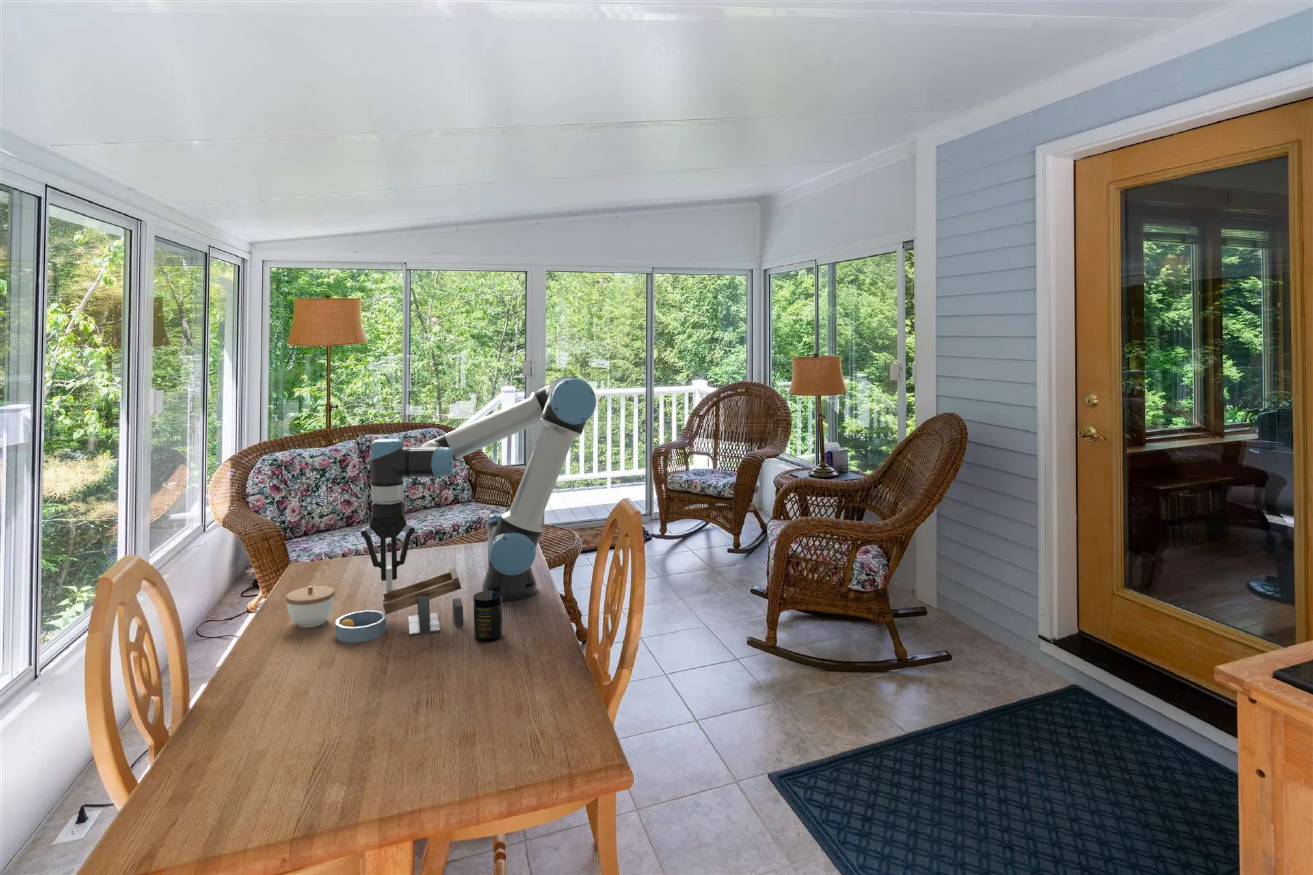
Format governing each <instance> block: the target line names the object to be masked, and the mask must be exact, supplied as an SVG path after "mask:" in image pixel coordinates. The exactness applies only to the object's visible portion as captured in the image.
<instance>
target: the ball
mask: <svg viewBox="0 0 1313 875" xmlns="http://www.w3.org/2000/svg"><path fill="white" fill-rule="evenodd" d="M340 625H342V626H345V627H354V622H353V621H352V620H351V619H345V620H343V621H342V622H341V624H340Z"/></svg>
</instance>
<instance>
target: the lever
mask: <svg viewBox="0 0 1313 875" xmlns="http://www.w3.org/2000/svg"><path fill="white" fill-rule="evenodd" d="M459 590H462V585H461V581H460V579H459V576H458V573H457V569H456V568H451V569H449V571H447V572H444V573H440V574H438V575H435V576H432V577H429V578H426V579H422V580H420V581H417V582H413V583H411V584H408V585H407V584H406V585H405V586H399V587H397V588H394V589H392V591H390V592H387V593H386V591H385V592H382V602H383V603H382V607H383V610H384V613H385V614H386V615H388V614H391V613H395V612H398V611H400V610H404V609H407V608H410V607H412V606H416V605H418V603H419V596H420V595H429V601H430V600H433V599H435V598H438V597H440V596H444V595H446V594H450V593H452V592H455V591H459Z"/></svg>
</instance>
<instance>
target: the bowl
mask: <svg viewBox="0 0 1313 875" xmlns="http://www.w3.org/2000/svg"><path fill="white" fill-rule="evenodd" d="M345 619H351V620H352V621H353V622H354V627H345V626H342V625H340V624H341V622H342V621H343V620H345ZM334 626H335V639H336V640H338V641H340V642H341V643H349V644H350V643H352V644H354V643H356V644H357V643H362V642H363V643H364V642H368V641H371V640H375V639H378V638H380V637H382V636H383V635H384V634H385V633H387V614H386V613H385V612H382V611H381V610H373V609H372V610H370V609H369V610H359V611H354V612H351V613H347V614H344V615H342V616H340V617H338V618H337V619H336V620H335V625H334Z"/></svg>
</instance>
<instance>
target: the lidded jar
mask: <svg viewBox="0 0 1313 875" xmlns="http://www.w3.org/2000/svg"><path fill="white" fill-rule="evenodd" d="M285 601H286V608H287V613H288V616H289V618H290V620H291V621H292V622H293V623H294V624H296V625H297V626H298V627H300V628H304V629H305V628H306V629H307V628H315V627H318V626H322V625H323V624H325V623H326V621H327V620H328V619H329V617H330V616H331V614H332V613H333V610H334V606H335V589H334V588H333V587H330V586H325V585H315V586H312V585H308V586H307V587H301V588H297V589H294V590H292V591H291V592H288V593H287V594H286V596H285Z"/></svg>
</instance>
